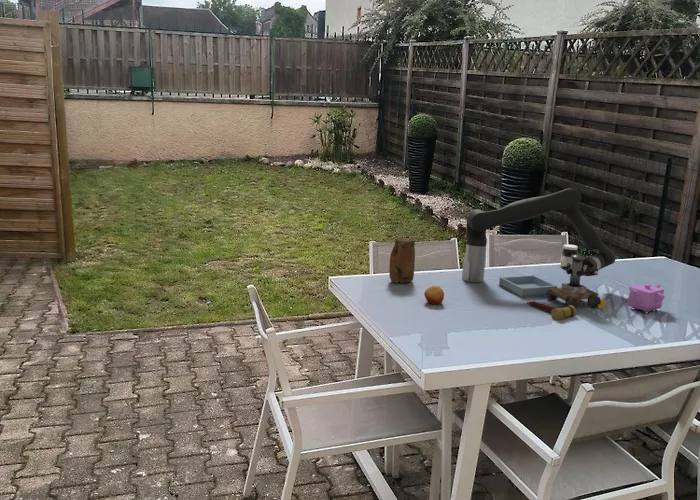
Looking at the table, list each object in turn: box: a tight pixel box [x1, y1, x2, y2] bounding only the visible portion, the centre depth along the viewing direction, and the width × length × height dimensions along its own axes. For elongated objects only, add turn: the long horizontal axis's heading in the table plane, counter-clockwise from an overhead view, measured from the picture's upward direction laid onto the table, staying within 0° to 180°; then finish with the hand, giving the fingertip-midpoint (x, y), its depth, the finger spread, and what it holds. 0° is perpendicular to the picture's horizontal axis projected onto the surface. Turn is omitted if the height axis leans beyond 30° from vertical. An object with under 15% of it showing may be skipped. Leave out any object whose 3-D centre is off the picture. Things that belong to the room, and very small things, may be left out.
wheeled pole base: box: [546, 282, 601, 309], centre depth 267 cm, size 16×15×8 cm
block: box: [388, 237, 416, 284], centre depth 289 cm, size 11×8×20 cm
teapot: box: [627, 283, 666, 313], centre depth 262 cm, size 15×13×11 cm
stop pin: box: [568, 254, 585, 287], centre depth 265 cm, size 5×5×15 cm
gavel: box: [526, 300, 578, 321], centre depth 256 cm, size 21×5×10 cm
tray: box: [498, 274, 558, 298], centre depth 284 cm, size 18×18×4 cm
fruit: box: [423, 285, 445, 305], centre depth 262 cm, size 8×8×8 cm
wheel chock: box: [596, 298, 607, 309], centre depth 264 cm, size 4×3×3 cm
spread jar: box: [560, 244, 579, 270], centre depth 324 cm, size 12×11×12 cm
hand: (573, 273), depth 263 cm, fingers closed on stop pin, 4 cm apart
